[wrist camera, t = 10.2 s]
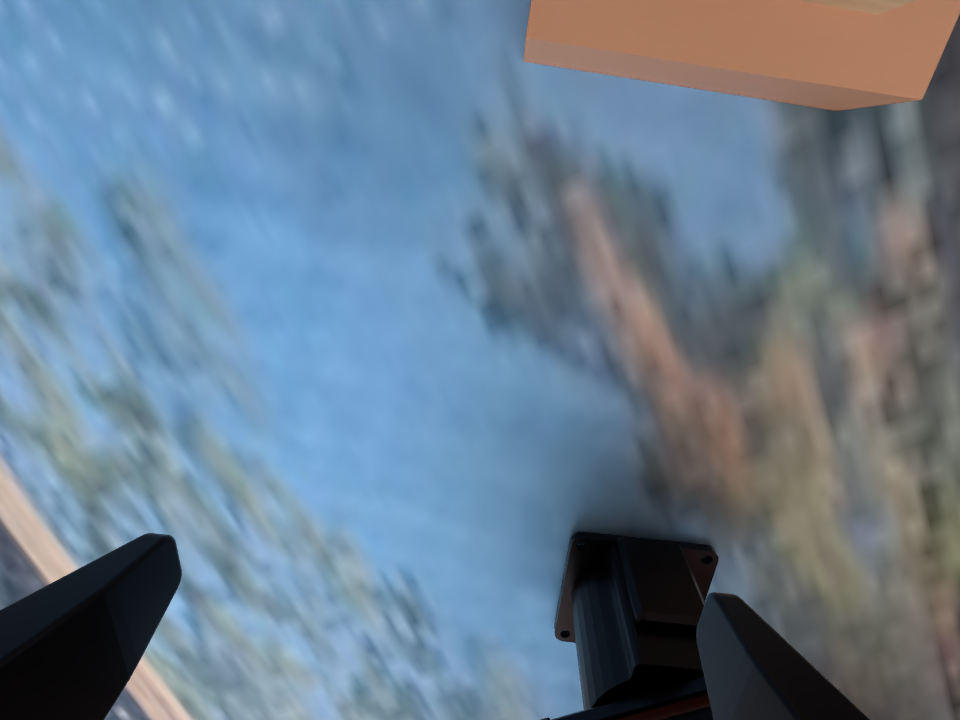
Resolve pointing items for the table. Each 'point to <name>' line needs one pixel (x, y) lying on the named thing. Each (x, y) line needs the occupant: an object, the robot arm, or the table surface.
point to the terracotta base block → (750, 46)
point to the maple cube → (863, 4)
